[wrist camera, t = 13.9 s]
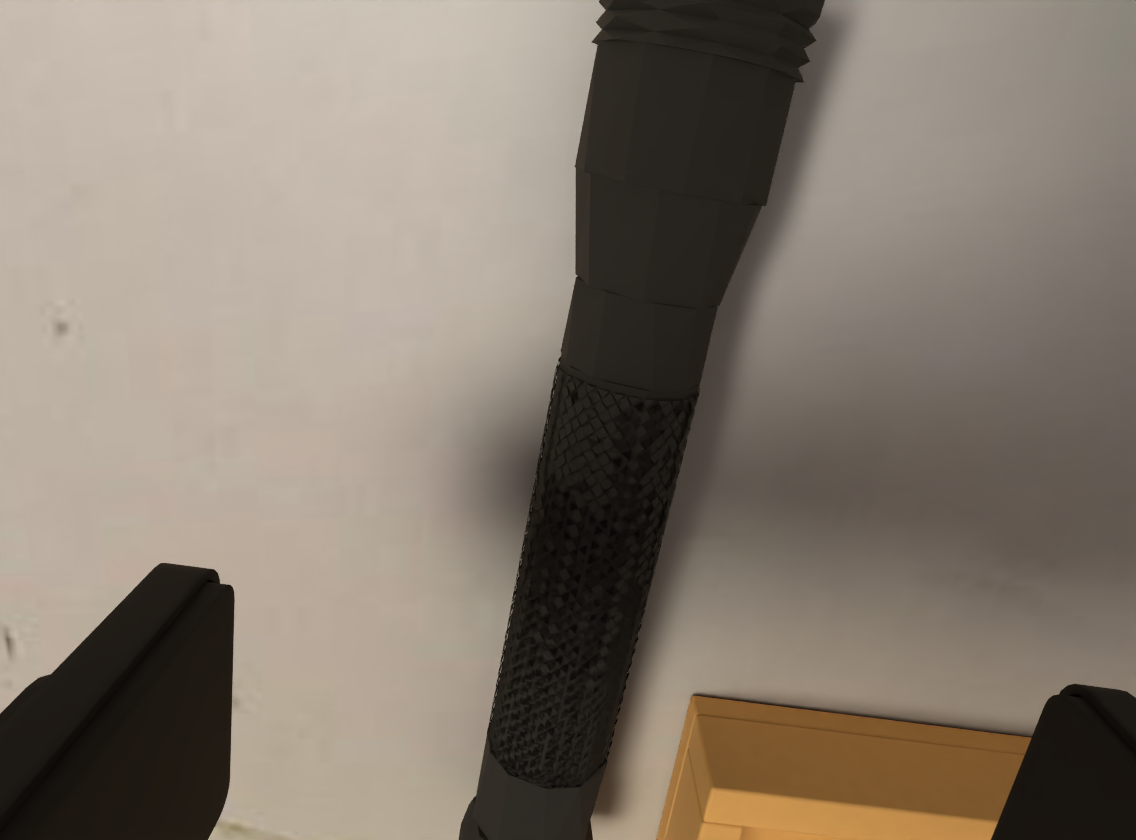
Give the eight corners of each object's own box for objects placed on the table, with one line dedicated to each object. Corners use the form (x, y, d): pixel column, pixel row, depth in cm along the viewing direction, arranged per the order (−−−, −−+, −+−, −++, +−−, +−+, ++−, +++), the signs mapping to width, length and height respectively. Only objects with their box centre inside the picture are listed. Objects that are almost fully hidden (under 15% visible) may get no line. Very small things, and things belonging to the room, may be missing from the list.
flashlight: (796, 2, 13) (861, -33, 10) (590, 818, 18) (595, 946, 15) (604, -39, 13) (616, -86, 10) (455, 798, 18) (434, 925, 15)
